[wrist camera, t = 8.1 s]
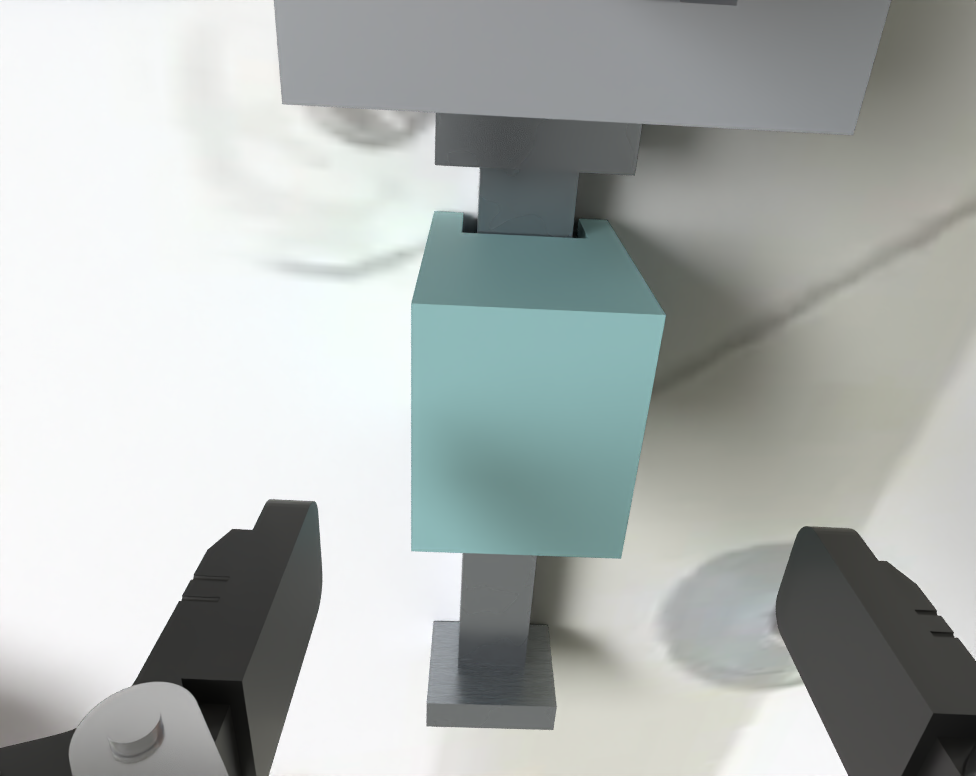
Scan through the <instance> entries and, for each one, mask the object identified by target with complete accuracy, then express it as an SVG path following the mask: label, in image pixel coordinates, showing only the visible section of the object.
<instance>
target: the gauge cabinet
mask: <svg viewBox="0 0 976 776" xmlns="http://www.w3.org/2000/svg"><path fill="white" fill-rule="evenodd" d="M890 3H891V0H274V8H275V20H276V32H277V45H278V57H279V69H280V82H281V94H282V104H287V105H306V106H324V107H342V108H361V109H379V110H398V111H416V112H434V113H453V114H471V115H490V116H508V117H526V118H545V119H563V120H582V121H600V122H618V123H637V124H655V125H674V126H692V127H711V128H729V129H747V130H766V131H784V132H803V133H821V134H839V135H853V134H854V130H855V127H856V123H857V120H858V116H859V113H860V109H861V106H862V102H863V99H864V95H865V92H866V88H867V85H868V81H869V77H870V74H871V70H872V67H873V63H874V60H875V56H876V53H877V49H878V46H879V42H880V39H881V35H882V32H883V28H884V25H885V21H886V18H887V14H888V10H889V7H890Z"/></svg>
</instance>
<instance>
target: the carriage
mask: <svg viewBox="0 0 976 776" xmlns="http://www.w3.org/2000/svg"><path fill="white" fill-rule="evenodd" d="M665 318H666V314H665V313H664V311H663V310H662V308H661V306H660V305H659V303H658V301H657V300H656V298H655V296H654V295H653V293H652V292H651V290H650V288H649V287H648V285H647V283H646V282H645V280H644V279H643V277H642V275H641V274H640V272H639V270H638V269H637V267H636V266H635V264H634V262H633V261H632V259H631V257H630V256H629V254H628V253H627V251H626V249H625V248H624V246H623V244H622V243H621V241H620V240H619V238H618V236H617V235H616V233H615V231H614V230H613V228H612V227H611V225H610V223H609V222H608V220H598V219H579V221H578V230H577V238H563V237H543V236H522V235H502V234H482V233H463V213H459V212H439V211H434V215H433V219H432V223H431V227H430V231H429V235H428V239H427V243H426V247H425V251H424V255H423V259H422V263H421V267H420V271H419V275H418V279H417V283H416V287H415V291H414V295H413V299H412V303H411V551H422V552H450V553H478V554H507V555H535V556H563V557H591V558H620V559H621V556H622V551H623V545H624V540H625V534H626V529H627V524H628V518H629V513H630V507H631V502H632V496H633V491H634V486H635V480H636V475H637V469H638V464H639V459H640V453H641V448H642V442H643V437H644V431H645V426H646V421H647V415H648V410H649V404H650V399H651V394H652V388H653V383H654V377H655V372H656V366H657V361H658V356H659V350H660V345H661V339H662V334H663V329H664V323H665Z"/></svg>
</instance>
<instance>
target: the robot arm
mask: <svg viewBox="0 0 976 776" xmlns="http://www.w3.org/2000/svg"><path fill="white" fill-rule="evenodd" d="M321 591H322V561H321V547H320V532H319V518H318V508H317V504H316V502H314V501H296V500H275V499H269V500H268V501H267V502H266V504H265V506H264V508H263V510H262V512H261V514H260V516H259V518H258V520H257V522H256V524H255V526H254V528H253V530H242V529H232V530H231V531H230V532H228V533H227V534H226V535H225V536H224V537H222V538H221V539H220V540H219V541H218V542H216V543H215V544H214V545H213V546H212V547H210V548H209V549H208V550H207V552H206V554H205V555H204V557H203V559H202V561H201V563H200V564H199V566H198V568H197V570H196V572H195V573H194V578H193V580H191V581H190V583H189V584H188V586H187V588H186V590H185V592H184V593H183V595H182V601H179V602H178V604H177V606H176V608H175V610H174V612H173V613H172V615H171V617H170V619H169V621H168V622H167V624H166V626H165V628H164V630H163V631H162V633H161V635H160V637H159V639H158V640H157V642H156V644H155V646H154V648H153V650H152V651H151V653H150V655H149V657H148V659H147V660H146V662H145V664H144V666H143V668H142V669H141V671H140V673H139V675H138V677H137V678H136V680H135V682H134V683H133V685H132V686H131V687H128V688H125V689H123V690H121V691H119V692H117V693H115V694H113V695H111V696H109V697H108V698H106V699H105V700H103V701H102V702H100V703H99V704H98V705H97V706H96V707H94V708H93V709H92V710H91V711H90V712H89V713H88V714H87V715H86V716H85V717H84V719H83V720H82V721H81V723H80V724H79V725H78V727H77V728H76V729H73V730H71V731H68V732H65V733H61V734H58V735H54V736H50V737H46V738H42V739H37V740H33V741H29V742H25V743H20V744H16V745H12V746H8V747H3V748H0V776H269V772H270V769H271V766H272V762H273V759H274V756H275V753H276V749H277V746H278V743H279V739H280V736H281V733H282V729H283V726H284V723H285V719H286V716H287V713H288V709H289V706H290V703H291V700H292V696H293V693H294V690H295V686H296V683H297V680H298V676H299V673H300V670H301V666H302V663H303V660H304V656H305V653H306V650H307V647H308V643H309V640H310V637H311V633H312V630H313V627H314V623H315V620H316V617H317V613H318V609H319V605H320V599H321ZM776 618H777V624H778V628H779V631H780V634H781V636H782V639H783V641H784V643H785V645H786V647H787V649H788V651H789V653H790V655H791V657H792V659H793V661H794V664H795V666H796V668H797V670H798V672H799V674H800V676H801V678H802V680H803V682H804V684H805V686H806V689H807V691H808V693H809V695H810V697H811V699H812V701H813V703H814V705H815V707H816V709H817V711H818V713H819V716H820V718H821V720H822V722H823V724H824V726H825V728H826V730H827V732H828V734H829V736H830V738H831V741H832V743H833V745H834V747H835V749H836V751H837V753H838V755H839V757H840V759H841V761H842V763H843V766H844V768H845V770H846V772H847V774H848V776H976V661H975V659H974V658H973V657H972V655H971V654H970V653H969V652H968V650H967V649H966V648H965V646H964V645H963V644H962V642H961V641H960V640H959V639H958V638H954V635H953V633H954V632H953V631H952V629H951V628H950V627H949V626H948V624H947V623H946V622H945V620H944V619H943V618H942V617H941V616H938V615H937V610H936V609H935V607H934V606H933V605H932V604H931V602H930V601H929V600H928V598H927V597H926V596H925V595H924V593H923V592H922V591H921V589H920V588H919V587H918V585H917V584H916V583H914V582H913V581H912V580H910V579H909V578H908V577H906V576H905V575H904V574H903V573H901V572H900V571H899V570H897V569H896V568H895V567H893V566H892V565H891V564H890V563H888V562H887V561H878V560H877V558H876V557H875V555H874V554H873V553H872V551H871V550H870V549H869V547H868V546H867V545H866V543H865V542H864V540H863V539H862V538H861V536H860V535H859V534H858V533H857V532H856V531H855V530H853V529H849V528H830V527H809V526H806V527H803V528H801V529H800V531H799V532H798V534H797V536H796V539H795V542H794V545H793V548H792V551H791V554H790V557H789V561H788V564H787V567H786V570H785V573H784V576H783V579H782V582H781V585H780V588H779V591H778V595H777V600H776Z"/></svg>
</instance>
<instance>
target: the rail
mask: <svg viewBox="0 0 976 776" xmlns="http://www.w3.org/2000/svg"><path fill="white" fill-rule="evenodd" d="M641 130H642V124H637V123H618V122H600V121H582V120H563V119H545V118H526V117H508V116H490V115H471V114H453V113H436V136H435V165H443V166H463V167H480V178H479V200H478V223H477V233H482V234H502V235H522V236H543V237H563V238H572V234H573V225H574V216H575V207H576V198H577V189H578V179H579V173H597V174H616V175H635V170H636V164H637V157H638V150H639V143H640V136H641ZM536 560H537V556H535V555H507V554H478V553H463V558H462V580H461V602H460V622H439V621H434V622H433V634H432V646H431V658H430V671H429V683H428V695H427V725H426V726H434V727H469V728H505V729H541V730H553V728H554V721H555V714H556V707H557V706H556V697H555V687H554V678H553V669H552V659H551V650H550V640H549V631H548V625H531V624H530V615H531V606H532V597H533V588H534V578H535V569H536Z"/></svg>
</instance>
